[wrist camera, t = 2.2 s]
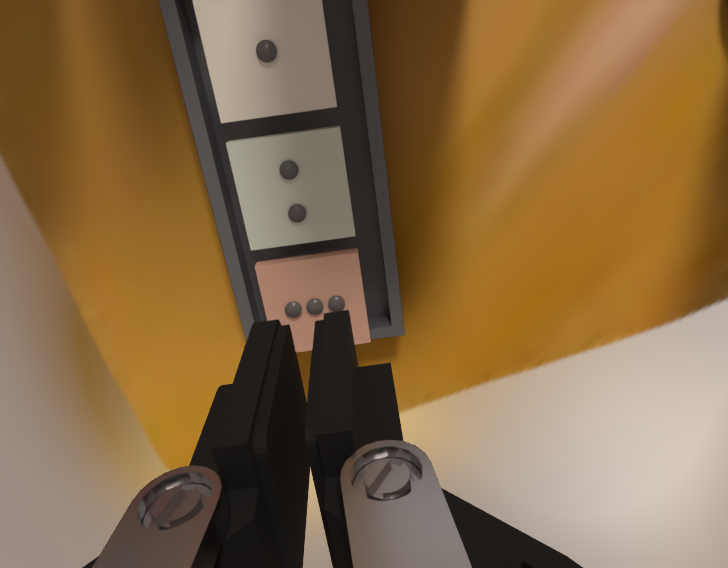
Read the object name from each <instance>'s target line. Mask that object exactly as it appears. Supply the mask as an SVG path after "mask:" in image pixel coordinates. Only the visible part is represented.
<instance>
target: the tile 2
mask: <svg viewBox="0 0 728 568" xmlns="http://www.w3.org/2000/svg"><path fill="white" fill-rule="evenodd" d="M226 147H227V151H228V155H229V159H230V164H231V168H232V172H233V176H234V181H235V185H236V189H237V194H238V198H239V202H240V206H241V211H242V215H243V219H244V223H245V228H246V232H247V236H248V241H249V245H250V249H251V250H259V249H266V248H273V247H280V246H288V245H295V244H302V243H310V242H317V241H324V240H331V239H339V238H346V237H353V236H356V235H355V227H354V220H353V213H352V206H351V199H350V192H349V185H348V178H347V171H346V164H345V157H344V150H343V143H342V136H341V129H340V125H338V126H331V127H324V128H317V129H310V130H302V131H295V132H288V133H281V134H274V135H267V136H260V137H253V138H246V139H238V140H231V141H228V142H227V143H226Z"/></svg>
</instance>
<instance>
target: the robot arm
mask: <svg viewBox="0 0 728 568" xmlns="http://www.w3.org/2000/svg"><path fill="white" fill-rule="evenodd" d="M310 467H311V471H312V476H313V481H314V485H315V489H316V494H317V498H318V503H319V507H320V512H321V516H322V521H323V525H324V529H325V534H326V538H327V543H328V547H329V551H330V556H331V561H332V565H333V568H583V567H581V566H580V565H578V564H577V563H575V562H574V561H573V560H571V559H570V558H568V557H567V556H565V555H563V554H562V553H560V552H558V551H556V550H554V549H552V548H551V547H549V546H547V545H545V544H543V543H541V542H540V541H538V540H536V539H534V538H532V537H530V536H529V535H527V534H525V533H523V532H521V531H519V530H518V529H516V528H514V527H512V526H510V525H508V524H506V523H505V522H503V521H501V520H499V519H497V518H495V517H494V516H492V515H490V514H488V513H486V512H484V511H483V510H481V509H479V508H477V507H475V506H473V505H472V504H470V503H468V502H466V501H464V500H462V499H460V498H459V497H457V496H455V495H453V494H451V493H449V492H448V491H446V490H444V489H442V488H441V487H440V484H439V481H438V479H437V476H436V473H435V471H434V468H433V466H432V463H431V461H430V460H429V458H428V456H427V455H426V453H425V452H423V451H422V450H421V449H420V448H418V447H417V446H415V445H413V444H410V443H407V442H405V441H403V436H402V430H401V424H400V418H399V411H398V405H397V399H396V393H395V387H394V381H393V375H392V369H391V363H385V364H377V365H370V366H362V367H358V363H357V357H356V350H355V344H354V338H353V332H352V325H351V319H350V313H349V310H343V311H336V312H329V313H324V319H323V320H318V321H315V327H314V337H313V347H312V358H311V368H310V378H309V389H308V399H307V402H306V397H305V392H304V388H303V383H302V378H301V374H300V369H299V364H298V360H297V355H296V350H295V346H294V341H293V337H292V332H291V328H290V325H289V324H288V325H281V323H280V321H279V319H277V320H270V321H262V322H255V323H253V324H252V327H251V330H250V333H249V336H248V339H247V342H246V345H245V348H244V351H243V354H242V357H241V360H240V363H239V366H238V369H237V372H236V375H235V378H234V381H233V384H228V385H222V386H220V387H219V388H218V390H217V392H216V395H215V398H214V400H213V403H212V406H211V408H210V411H209V414H208V416H207V419H206V422H205V424H204V427H203V430H202V433H201V435H200V438H199V441H198V443H197V446H196V449H195V451H194V454H193V457H192V460H191V462H190V465H189V466H186V467H180V468H177V469H174V470H171V471H169V472H166V473H164V474H162V475H161V476H159V477H157V478H155V479H154V480H152V481H151V482H150V483H148V484H147V485H146V486H145V487H144V488H143V489H141V490H140V492H139V493H138V494H137V496H136V497H135V498H134V499H133V500H132V502H131V504H130V505H129V507H128V509H127V510H126V512H125V514H124V515H123V517H122V519H121V520H120V522H119V524H118V525H117V527H116V529H115V530H114V532H113V534H112V535H111V537H110V539H109V540H108V542H107V544H106V545H105V547H104V549H103V551H102V552H101V554H100V555H99V556H98V557H97V558H96V559H94V560H93V561H91V562H90V563H88V564H87V565H86V566H84V567H83V568H303V556H304V543H305V542H304V541H305V529H306V516H307V501H308V489H309V475H310Z"/></svg>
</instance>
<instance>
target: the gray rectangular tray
mask: <svg viewBox="0 0 728 568" xmlns="http://www.w3.org/2000/svg"><path fill="white" fill-rule="evenodd" d="M159 4H160V8H161V12H162V16H163V19H164V23H165V27H166V31H167V35H168V39H169V43H170V47H171V50H172V54H173V58H174V62H175V66H176V70H177V74H178V78H179V82H180V85H181V89H182V93H183V97H184V101H185V105H186V109H187V113H188V116H189V120H190V124H191V128H192V132H193V136H194V140H195V144H196V147H197V151H198V155H199V159H200V163H201V167H202V171H203V175H204V179H205V182H206V186H207V190H208V194H209V198H210V202H211V206H212V210H213V213H214V217H215V221H216V225H217V229H218V233H219V237H220V241H221V244H222V248H223V252H224V256H225V260H226V264H227V268H228V272H229V276H230V279H231V283H232V287H233V291H234V295H235V299H236V303H237V307H238V310H239V314H240V318H241V322H242V326H243V330H244V334H245V338H246V341H247V339H248V336H249V333H250V330H251V327H252V324H253V323H255V322H262V321H267V317H266V313H265V309H264V305H263V300H262V296H261V292H260V287H259V283H258V279H257V275H256V270H255V265H256V262H258V261H266V260H268V257H269V256H274V255H282V254H289V253H296V252H303V251H311V250H318V249H325V248H333V247H340V246H347V245H351V247H352V249H353V248H358V255H359V262H360V269H361V276H362V283H363V290H364V296H365V303H366V310H367V317H368V324H369V331H370V339H378V338H386V337H393V336H401V335H405V332H404V323H403V314H402V305H401V296H400V287H399V278H398V269H397V260H396V252H395V243H394V234H393V225H392V216H391V207H390V198H389V189H388V180H387V171H386V162H385V153H384V144H383V135H382V126H381V117H380V109H379V100H378V91H377V82H376V73H375V64H374V55H373V46H372V37H371V28H370V19H369V10H368V1H367V0H322V4H323V11H324V18H325V25H326V32H327V39H328V46H329V53H330V60H331V67H332V74H333V81H334V88H335V95H336V102H337V107H333V108H326V109H319V110H312V111H305V112H298V113H291V114H283V115H276V116H269V117H262V118H255V119H248V120H241V121H234V122H227V123H221V121H220V117H219V112H218V108H217V104H216V100H215V95H214V91H213V87H212V83H211V78H210V74H209V70H208V65H207V61H206V57H205V53H204V48H203V44H202V40H201V36H200V31H199V27H198V23H197V18H196V14H195V10H194V6H193V1H192V0H159ZM338 125H340V129H341V136H342V143H343V150H344V157H345V164H346V171H347V178H348V185H349V192H350V199H351V206H352V213H353V220H354V227H355V235H356V236H353V237H346V238H339V239H331V240H324V241H317V242H310V243H302V244H295V245H288V246H280V247H273V248H266V249H259V250H251V249H250V245H249V241H248V236H247V232H246V228H245V223H244V219H243V215H242V211H241V206H240V202H239V198H238V194H237V189H236V185H235V181H234V176H233V172H232V168H231V164H230V159H229V155H228V151H227V147H226V143H227V142H228V141H231V140H238V139H246V138H253V137H260V136H267V135H274V134H281V133H288V132H295V131H302V130H310V129H317V128H324V127H331V126H338Z"/></svg>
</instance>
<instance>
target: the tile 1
mask: <svg viewBox="0 0 728 568" xmlns="http://www.w3.org/2000/svg"><path fill="white" fill-rule="evenodd" d="M192 1H193V6H194V10H195V14H196V18H197V23H198V27H199V31H200V36H201V40H202V44H203V48H204V53H205V57H206V61H207V65H208V70H209V74H210V78H211V83H212V87H213V91H214V95H215V100H216V104H217V108H218V112H219V117H220V121H221V123H227V122H234V121H241V120H248V119H255V118H262V117H269V116H276V115H283V114H291V113H298V112H305V111H312V110H319V109H326V108H333V107H337V102H336V95H335V88H334V81H333V74H332V67H331V60H330V53H329V46H328V39H327V32H326V25H325V18H324V11H323V4H322V0H192Z"/></svg>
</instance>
